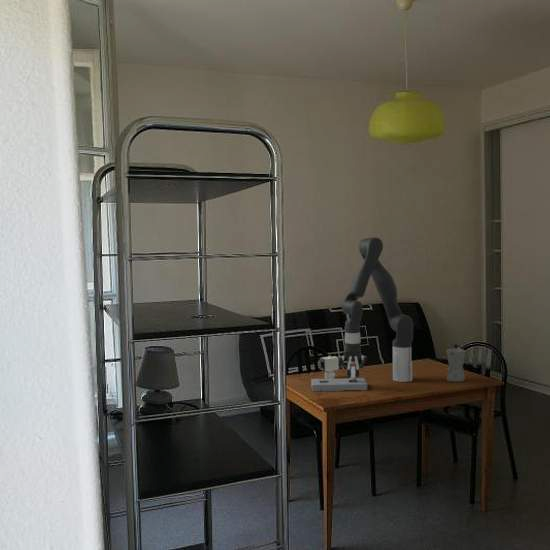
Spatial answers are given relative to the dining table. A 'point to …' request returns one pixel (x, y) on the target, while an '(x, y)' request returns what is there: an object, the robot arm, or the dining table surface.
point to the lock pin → (353, 371)
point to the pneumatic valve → (329, 365)
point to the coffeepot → (455, 364)
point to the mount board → (338, 384)
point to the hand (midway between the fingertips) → (352, 376)
